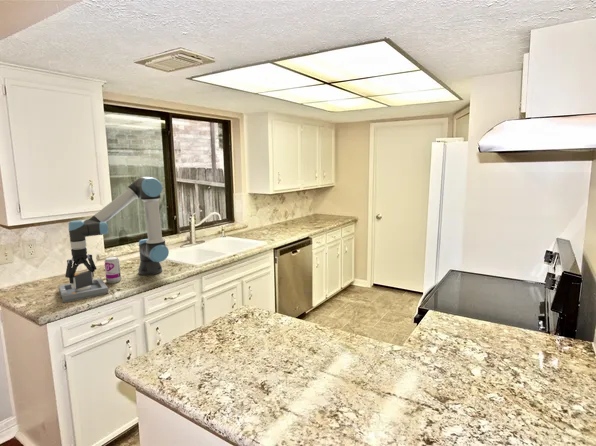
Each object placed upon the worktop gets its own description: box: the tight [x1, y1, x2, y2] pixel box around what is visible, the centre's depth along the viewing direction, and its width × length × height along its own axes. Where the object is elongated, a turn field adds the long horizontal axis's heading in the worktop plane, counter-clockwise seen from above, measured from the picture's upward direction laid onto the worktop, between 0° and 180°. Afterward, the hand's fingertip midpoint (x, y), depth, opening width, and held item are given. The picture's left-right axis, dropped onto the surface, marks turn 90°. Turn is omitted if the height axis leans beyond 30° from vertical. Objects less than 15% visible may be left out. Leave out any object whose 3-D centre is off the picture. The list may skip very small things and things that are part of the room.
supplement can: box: [104, 256, 122, 284], centre depth 229 cm, size 8×8×15 cm
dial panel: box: [58, 277, 109, 304], centre depth 211 cm, size 22×22×4 cm
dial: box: [74, 270, 92, 292], centre depth 210 cm, size 10×8×10 cm
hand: (82, 285), depth 211 cm, fingers closed on dial, 10 cm apart
